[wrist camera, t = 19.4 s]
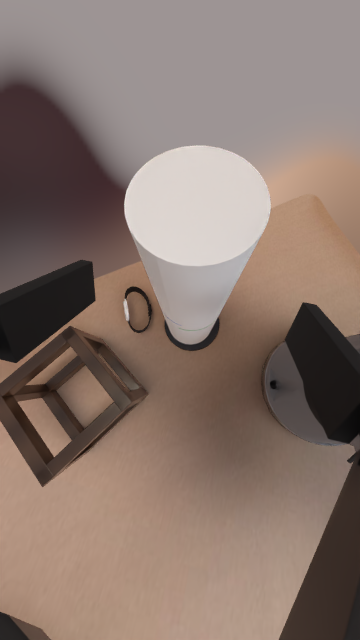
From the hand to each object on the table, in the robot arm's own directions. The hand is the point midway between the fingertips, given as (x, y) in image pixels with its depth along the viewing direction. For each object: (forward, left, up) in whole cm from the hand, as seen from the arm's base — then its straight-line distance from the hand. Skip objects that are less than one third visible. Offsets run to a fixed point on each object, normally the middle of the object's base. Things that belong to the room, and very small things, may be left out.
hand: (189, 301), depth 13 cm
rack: (+5, +16, -21) cm, 27 cm away
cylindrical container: (+2, -3, -21) cm, 21 cm away
